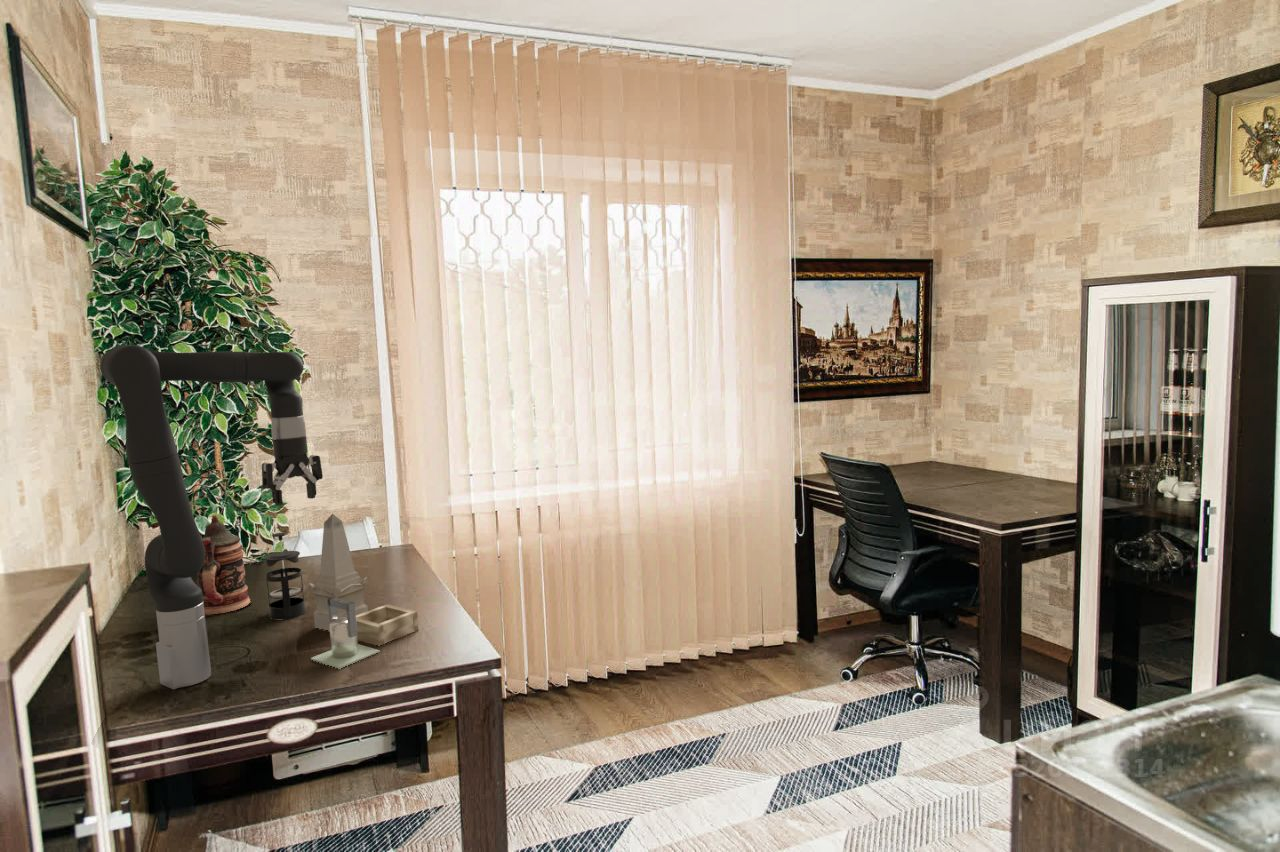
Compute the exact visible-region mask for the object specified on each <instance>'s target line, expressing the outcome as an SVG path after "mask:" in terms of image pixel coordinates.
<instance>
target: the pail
mask: <svg viewBox="0 0 1280 852" xmlns="http://www.w3.org/2000/svg"><path fill="white" fill-rule="evenodd" d="M327 601H328V610H329V621H330V622H329V628H330V631H329V638H330V639H329V640H330V650H332V657H333V658H335V659H344V658H349V657H352V656H355V655H357V654H358V653H359V647H358V644H359V640H358V635H357V624H356V614H355V602H352V601H347V600H343V599H339V598H335V597H332V598H329V599H327ZM337 608H340V609H343V610H346V611H347V617H341V618H338V615H337Z"/></svg>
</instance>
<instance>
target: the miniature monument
mask: <svg viewBox="0 0 1280 852" xmlns="http://www.w3.org/2000/svg"><path fill="white" fill-rule="evenodd" d="M346 534H347V533H346V530H345V527H344V522H343V520H342V519H340V518H339V517H337V516H336V515H335V514H334V513H331V514H330V516H329V517H328V518H327V519H326V520H325V521H324V522H323V534H322V542H321V543H322V544H321V545H322V546H321V547H322V548H321V555H320V556H321V559H320V572H319V575H317V577H316V579H317V580H316V581H315V584H314V583H308V593H309V594H311V595H314V597H315V606H316V607H315V608H316V609H315V610H314V611H313V622H314V629H316V628H319V629H318V630H321V629H324V630H323V631H325V630H328V631H327V632H330V628H329V622H330V621H329V610H328V601H327V599H329V598H332V597H335V598H339V599H343V600H347V601H352V602H355V614H356V615H359V614H362V613H364V612H367V611H369V607H368V606H369V605H367V604H365V599H364V598H365V597H364V596H365V595H364V589H366V588H368V587H369V586H370V585H369V577H368V576H366V577H364V578H362V577H361V576H360V575H359V572H358V571H356V570H355V565H354V561H353V557H352V553H351V550H350V546H349V542H348V538H347V535H346ZM337 615H338V618H341V617H347V611H346V610H343V609H340V608H337Z"/></svg>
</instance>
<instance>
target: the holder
mask: <svg viewBox="0 0 1280 852" xmlns="http://www.w3.org/2000/svg"><path fill="white" fill-rule="evenodd" d="M418 618H419V617H418V611H417V610H412V609H408V608H405V607H400V606H395V605H392V604H388V603H387V604H383V605H381V606H378V607H376V608H373V609H370V610H368V611H367V612H364V613H362V614H359V615H356V624H357V635H358V642H362V641H363V643H366V642H367V643H366V644H369V643H371V644H370V645H372V644H375V645H374V646H376V645H378V646H377V647H381V646H380V645H382V644H384V645H386V644H385V643H387V642H389V641H392V640H394V639H397V638H399V637H401V638H403V637H402V636H404V635H406V636H408V635H407V634H409V633H411V632H414V631H416V632H418V631H419V619H418ZM417 630H418V631H417ZM414 633H415V632H414ZM411 634H412V633H411ZM409 635H410V634H409ZM404 637H405V636H404ZM399 639H400V638H399ZM397 640H398V639H397ZM394 641H395V640H394ZM392 642H393V641H392ZM389 643H390V642H389ZM387 644H388V643H387ZM382 646H383V645H382Z"/></svg>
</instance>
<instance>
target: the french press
mask: <svg viewBox="0 0 1280 852" xmlns="http://www.w3.org/2000/svg"><path fill="white" fill-rule="evenodd" d="M288 535H289V532H286V531H284V532H283V531H282V532H281V531H280V532H275V533H274V534H272V535H271V537H273V538H278V541H279V543H280V545H279V546H280V551H278V552H277V551H276V552H273V553H269V554H267V555H265V556H264V557H263V558H264V560H265V562H266V566H268V567H273V566H274V565H275V564H277V563H278V562H280V561H281V563H282V564H281V565H282V566H281V568H278V569H275V570H271V571H268V572H267V573H266V575H265V579H266V587H267V588H266V589H267V599H268V608H269V609H268V610H269V614H268V617H270V618H272V619H286V620H290V619H289V618H292V619H295V618H294V617H296V618H298V616H299V617H301V616H302V615H304V614H306V612H307V609H306V605H305V604H306V603H305V596H304V595H305V594H304V583H303V574H302V572H303V571H302V569H301V568H299V567H285V565H284V563H285V562H284V561H289V562H291V563H294V564H295V563H298V562H299V556H300V554H301V552H300V551H298V550H283V544H282V541H283V537H284V536H288ZM288 573H289V574H288ZM290 573H294V574H290ZM276 575H280V576H276ZM297 578H300V580H301V587H297V586H292V587H291V586H289V585H290V584H289V581H293V580H295V579H297ZM269 582H271V583H279V582H280V584H281V585H280V586H281V588H279V589H275V590H273V591H271V592H269V591H270V590H269ZM301 593H302V597H297V596H298V595H300V594H301ZM270 598H271V599H275V600H274V601H272V602H270V601H271V600H270ZM276 599H277V600H276ZM300 615H301V616H300ZM270 618H269V619H270ZM272 619H271V620H272Z"/></svg>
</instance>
